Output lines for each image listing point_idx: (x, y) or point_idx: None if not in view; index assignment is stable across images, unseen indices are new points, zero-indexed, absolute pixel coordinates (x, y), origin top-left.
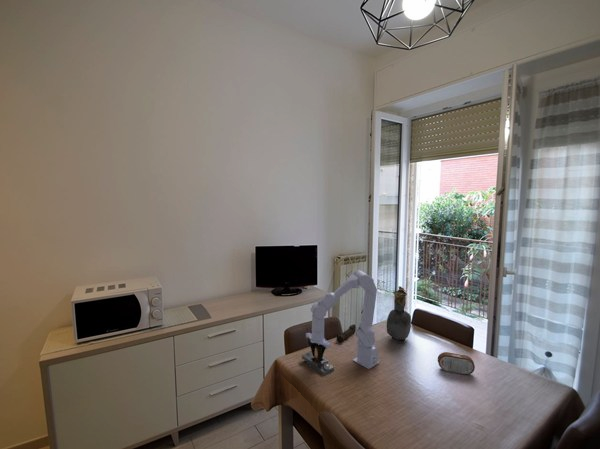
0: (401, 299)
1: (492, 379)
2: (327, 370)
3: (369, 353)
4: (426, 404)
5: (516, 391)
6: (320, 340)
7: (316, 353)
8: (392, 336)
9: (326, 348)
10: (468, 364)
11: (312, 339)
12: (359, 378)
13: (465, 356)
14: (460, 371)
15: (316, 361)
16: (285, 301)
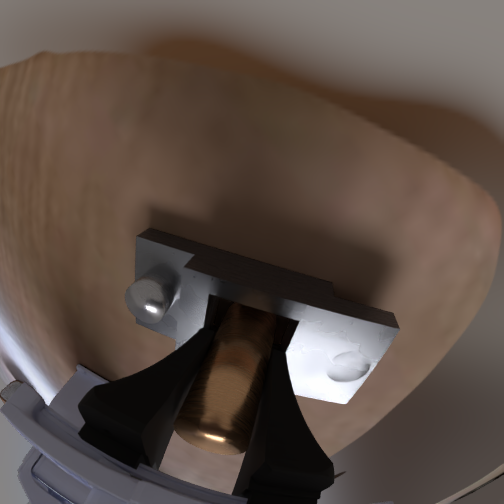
0: None
1: (7, 375)
2: (135, 270)
3: (53, 409)
4: None
5: None
6: (88, 495)
7: (217, 371)
8: (140, 480)
9: (32, 390)
10: (5, 391)
11: None
12: (54, 298)
13: (4, 403)
14: (18, 384)
15: (237, 316)
16: (488, 476)
